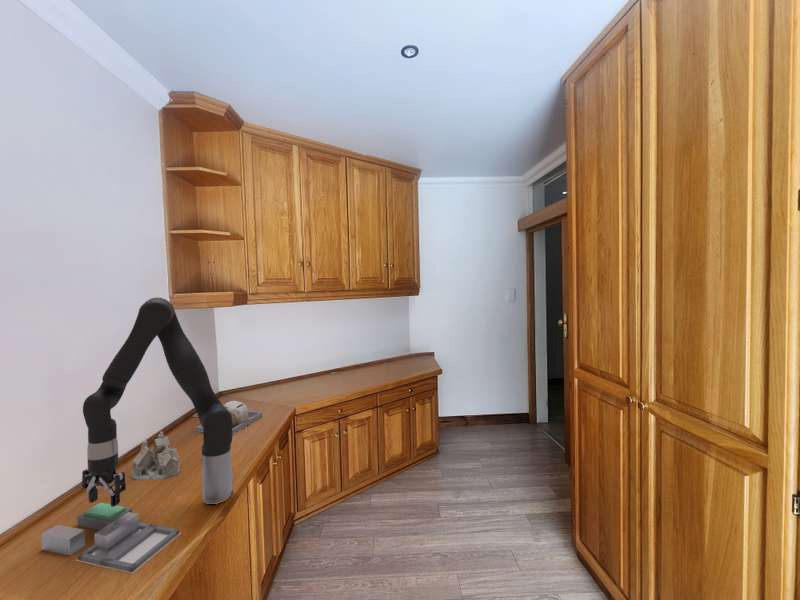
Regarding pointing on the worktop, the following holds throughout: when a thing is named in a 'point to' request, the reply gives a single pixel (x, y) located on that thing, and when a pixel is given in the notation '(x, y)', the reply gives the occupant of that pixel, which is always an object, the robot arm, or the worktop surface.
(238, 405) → the coin bank
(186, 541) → the worktop surface
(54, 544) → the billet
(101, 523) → the box
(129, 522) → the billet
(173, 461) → the ceramic cottage
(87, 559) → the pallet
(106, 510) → the button
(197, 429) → the coin bank tray
